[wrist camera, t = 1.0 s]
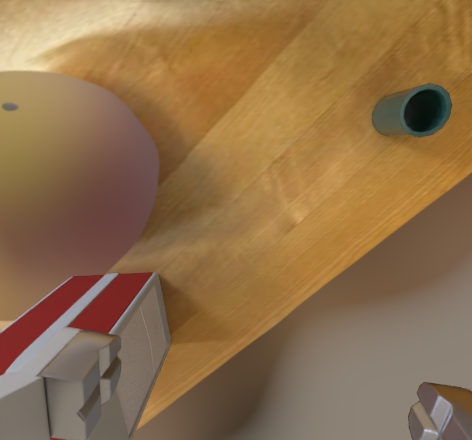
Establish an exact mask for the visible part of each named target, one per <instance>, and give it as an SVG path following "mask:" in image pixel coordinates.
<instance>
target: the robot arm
mask: <svg viewBox="0 0 472 440" xmlns="http://www.w3.org/2000/svg"><path fill="white" fill-rule="evenodd" d="M120 349H121V337H119V336H118V335H113V334H107V333H101V332H96V331H90V330H85V329H84V330H82V329H77V328H71V327H65V328H62V329H60V330H59V331H58V332H57V333H56V334H55V335H54V336H53V337H52V338H51V339H50V340H49V341H48V342H47V343H46V344H45V345H43V346H42V347H41V348H40V349H39V350H38V351H37V352H36V353H35V354H34V355H33V356H32V357H31V358H30V359H29V360H28V361H27V362H26V363H25V364H24V365H23V366H22V367H21V368H20V369H19V370H18V371H17V372H15V373H14V372H8V373H6V374H3V375H1V376H0V440H50V438H58V439H65V440H87V439H88V437H89V436H90V434H91V432H92V430H93V429H94V427H95V425H96V423H97V422H98V420H99V418H100V416H101V405H102V404H104V403H105V402H107V401H108V400H110V399H111V397H112V395H113V393H114V391H115V389H116V387H117V384H118V381H119V378H120V374H121V360H120V358H119V357H118V355H117V354H118V352H119V351H120ZM417 395H418V397H419V399H420V401H418V402H417V403H415V404H414V405H412V406H411V409H410V412H409V415H408V421H409V430H410V433H411V437H412V439H413V440H472V388H462V387H456V386H448V385H442V384H435V383H428V382H424V383H422V384H421V385H420V386H419V388H418V391H417Z"/></svg>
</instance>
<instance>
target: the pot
mask: <svg viewBox="0 0 472 440" xmlns="http://www.w3.org/2000/svg"><path fill="white" fill-rule="evenodd" d="M451 108H452V102H451V99H450V95H449V93H448V92H447V91H446V90H445V89H444V88H443V87H442V86H439V85H434V84H426V85H422V86H418V87H415V88H411V89H408V90H404V91H401V92H397V93H393V94H390V95H388V96H385V97H384V98H382V99H381V100H380V101H379V102H378V103H377V104H376V106H375V108H374V110H373V113H372V123H373V126H374V128H375V129H376V130H377V131H378V132H379V133H380V134H382V135H386V136H397V137H424V136H429V135H432V134H434V133H435V132H437V131H438V130H440V129H441V128H442V127H443V126H444V124H445V123H446V122H447V120H448V119H449V117H450V113H451Z"/></svg>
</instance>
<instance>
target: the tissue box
mask: <svg viewBox="0 0 472 440" xmlns="http://www.w3.org/2000/svg"><path fill="white" fill-rule="evenodd" d="M65 327H71V328H77V329H82V330H84V329H85V330H90V331H96V332H101V333H107V334H113V335H118V336H119V337H121V349H120V351H119V352H118V354H117V355H118V357H119V358H120V360H121V374H120V378H119V381H118V384H117V387H116V389H115V391H114V393H113V395H112V397H111V399H110V400H108V401H107V402H105V403H104V404H102V405H101V416H100V418H99V420H98V422H97V423H96V425H95V427H94V429H93V430H92V432H91V434H90V436H89V437H88V439H87V440H132V438H133V435H134V433H135V431H136V428H137V426H138V423H139V421H140V418H141V416H142V414H143V411H144V409H145V406H146V404H147V401H148V399H149V396H150V394H151V392H152V389H153V387H154V384H155V382H156V379H157V377H158V375H159V372H160V370H161V367H162V365H163V362H164V360H165V357H166V355H167V353H168V350H169V348H170V345H171V337H170V332H169V327H168V321H167V316H166V311H165V306H164V301H163V295H162V290H161V285H160V280H159V275H158V274H157V273H133V274H118V273H114V274H106V275H93V276H74V277H71V278H69V279H68V280H66V281H65V282H64V283H63V284H61V285H60V286H59V287H57V288H56V289H55V290H54V291H52V292H51V293H50V294H48V295H47V296H46V297H45V298H43V299H42V300H41V301H39V302H38V303H37V304H36V305H34V306H33V307H32V308H30V309H29V310H28V311H26V312H25V313H24V314H23V315H21V316H20V317H19V318H18V319H16V320H15V321H14V322H12V323H11V324H10V325H8V326H7V327H6V328H5V329H3V330H2V331H1V332H0V376H1V375H3V374H6V373H8V372H14V373H15V372H17V371H18V370H19V369H20V368H21V367H22V366H23V365H24V364H25V363H26V362H27V361H28V360H29V359H30V358H31V357H32V356H33V355H34V354H35V353H36V352H37V351H38V350H39V349H40V348H41V347H42V346H43V345H45V344H46V343H47V342H48V341H49V340H50V339H51V338H52V337H53V336H54V335H55V334H56V333H57V332H58V331H59V330H60V329H62V328H65ZM50 440H65V439H58V438H50Z"/></svg>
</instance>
